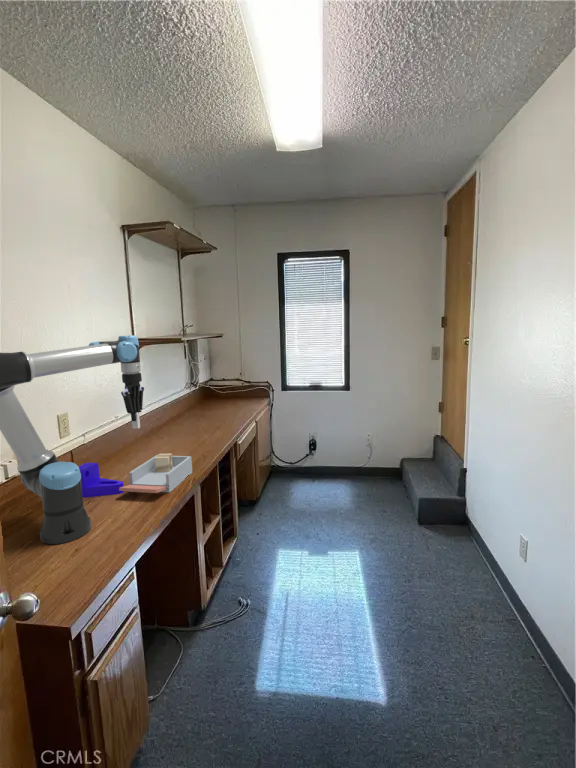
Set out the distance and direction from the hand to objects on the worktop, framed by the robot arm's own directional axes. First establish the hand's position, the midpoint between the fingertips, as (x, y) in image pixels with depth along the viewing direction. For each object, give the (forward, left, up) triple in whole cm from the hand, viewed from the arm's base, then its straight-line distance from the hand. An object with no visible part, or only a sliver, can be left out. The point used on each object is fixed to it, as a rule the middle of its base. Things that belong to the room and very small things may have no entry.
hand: (136, 427), depth 163 cm
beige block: (+15, -3, -24) cm, 28 cm away
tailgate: (-8, -5, -25) cm, 26 cm away
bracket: (-5, +15, -27) cm, 31 cm away
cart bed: (+9, -5, -27) cm, 29 cm away
